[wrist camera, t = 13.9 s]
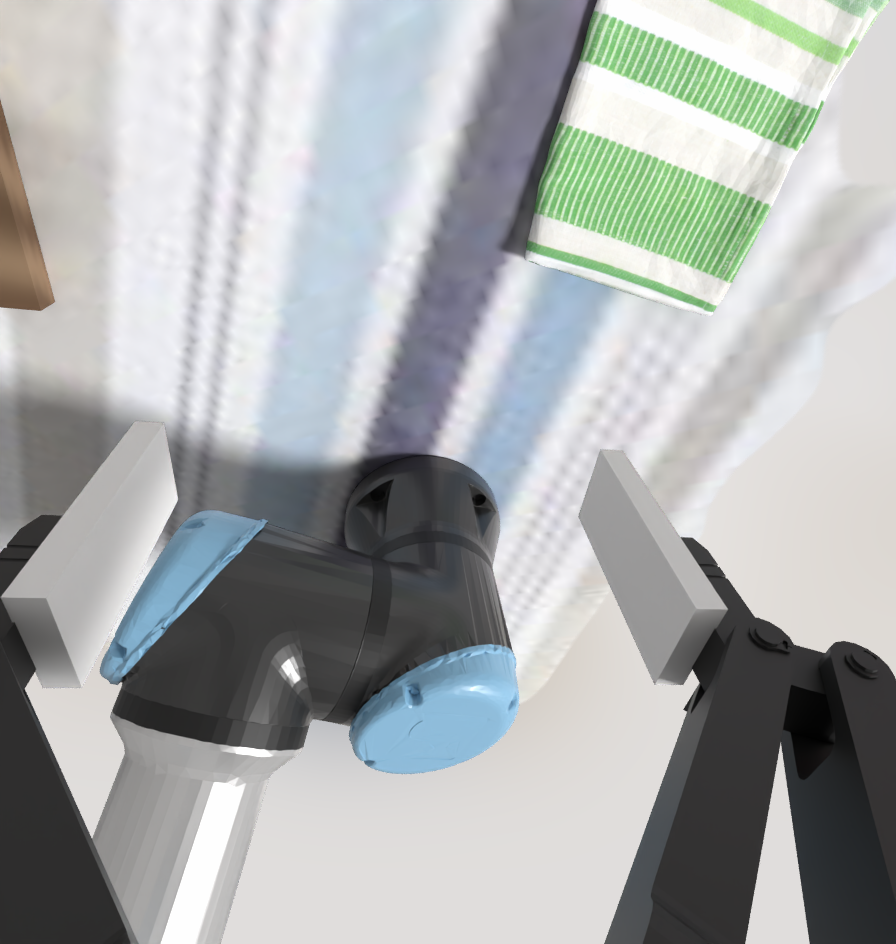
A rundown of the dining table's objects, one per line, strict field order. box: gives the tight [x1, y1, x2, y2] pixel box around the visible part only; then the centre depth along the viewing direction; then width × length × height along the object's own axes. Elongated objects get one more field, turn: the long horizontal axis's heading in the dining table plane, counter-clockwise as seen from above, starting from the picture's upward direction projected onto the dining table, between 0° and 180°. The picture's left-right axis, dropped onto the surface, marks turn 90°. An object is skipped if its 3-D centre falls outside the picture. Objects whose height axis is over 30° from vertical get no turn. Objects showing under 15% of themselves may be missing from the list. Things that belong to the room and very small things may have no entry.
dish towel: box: [525, 0, 890, 316], centre depth 37 cm, size 18×23×3 cm
